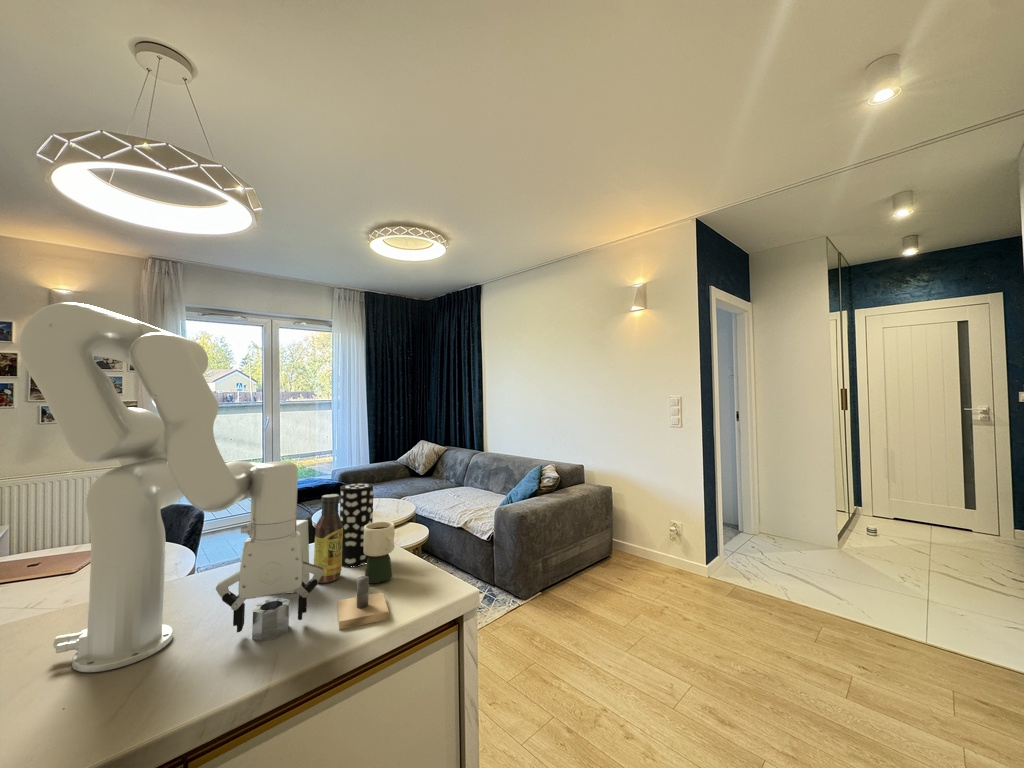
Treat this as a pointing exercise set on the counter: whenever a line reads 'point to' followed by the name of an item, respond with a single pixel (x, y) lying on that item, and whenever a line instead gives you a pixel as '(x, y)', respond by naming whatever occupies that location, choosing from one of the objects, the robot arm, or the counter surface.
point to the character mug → (378, 550)
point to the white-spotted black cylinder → (355, 521)
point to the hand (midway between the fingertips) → (271, 622)
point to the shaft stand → (362, 607)
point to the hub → (270, 619)
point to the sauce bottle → (329, 540)
